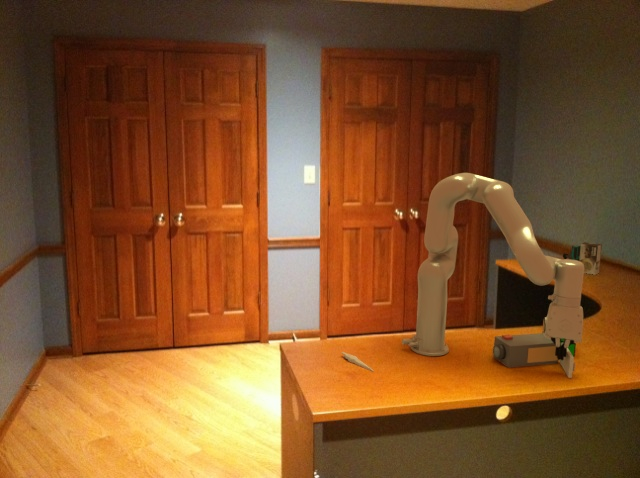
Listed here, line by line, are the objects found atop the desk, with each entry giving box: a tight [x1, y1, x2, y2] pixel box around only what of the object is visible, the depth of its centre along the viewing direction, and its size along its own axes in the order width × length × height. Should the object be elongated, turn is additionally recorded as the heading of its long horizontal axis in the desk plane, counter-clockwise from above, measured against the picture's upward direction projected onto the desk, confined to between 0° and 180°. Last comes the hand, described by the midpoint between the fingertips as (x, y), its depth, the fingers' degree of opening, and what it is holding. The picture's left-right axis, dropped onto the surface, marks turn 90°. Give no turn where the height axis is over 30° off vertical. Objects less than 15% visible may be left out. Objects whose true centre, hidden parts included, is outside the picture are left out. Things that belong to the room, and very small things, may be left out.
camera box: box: [492, 332, 560, 368], centre depth 185 cm, size 20×9×8 cm, turn 104°
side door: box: [558, 342, 576, 379], centre depth 177 cm, size 13×2×7 cm, turn 169°
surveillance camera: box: [562, 244, 581, 261], centre depth 330 cm, size 6×12×10 cm
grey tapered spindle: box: [341, 351, 374, 372], centre depth 179 cm, size 15×3×2 cm, turn 38°
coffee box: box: [580, 241, 602, 276], centre depth 311 cm, size 9×6×16 cm
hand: (560, 358), depth 175 cm, fingers closed
